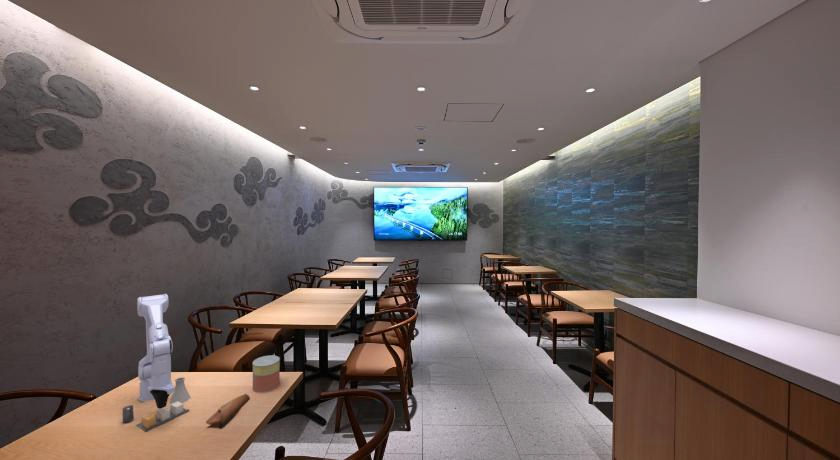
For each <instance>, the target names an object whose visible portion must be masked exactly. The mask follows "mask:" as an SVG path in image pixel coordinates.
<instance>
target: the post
mask: <svg viewBox="0 0 840 460" xmlns="http://www.w3.org/2000/svg"><path fill="white" fill-rule="evenodd" d="M121 411H122V424H129V423H132V422H133V421H134V415H135V414H134V405H132V404H131V405H126V406H124V407H123V408H122V410H121Z"/></svg>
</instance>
